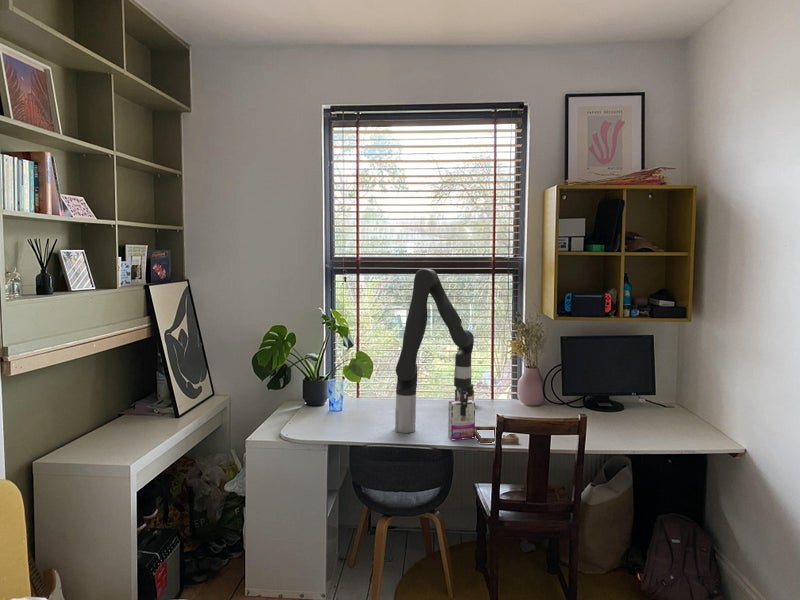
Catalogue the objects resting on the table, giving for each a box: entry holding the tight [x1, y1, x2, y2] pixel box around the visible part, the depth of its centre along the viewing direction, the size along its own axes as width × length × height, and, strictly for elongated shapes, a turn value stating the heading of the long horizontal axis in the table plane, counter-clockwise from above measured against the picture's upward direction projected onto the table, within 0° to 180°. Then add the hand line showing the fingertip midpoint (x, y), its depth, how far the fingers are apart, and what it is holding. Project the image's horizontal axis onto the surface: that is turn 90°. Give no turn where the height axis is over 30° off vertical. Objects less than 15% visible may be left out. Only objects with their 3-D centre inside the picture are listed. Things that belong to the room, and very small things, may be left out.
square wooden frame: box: [475, 425, 520, 445], centre depth 244 cm, size 17×17×2 cm
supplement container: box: [454, 383, 475, 402], centre depth 295 cm, size 10×10×12 cm
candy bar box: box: [447, 400, 476, 440], centre depth 243 cm, size 11×5×16 cm, turn 106°
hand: (461, 413), depth 243 cm, fingers closed on candy bar box, 5 cm apart
